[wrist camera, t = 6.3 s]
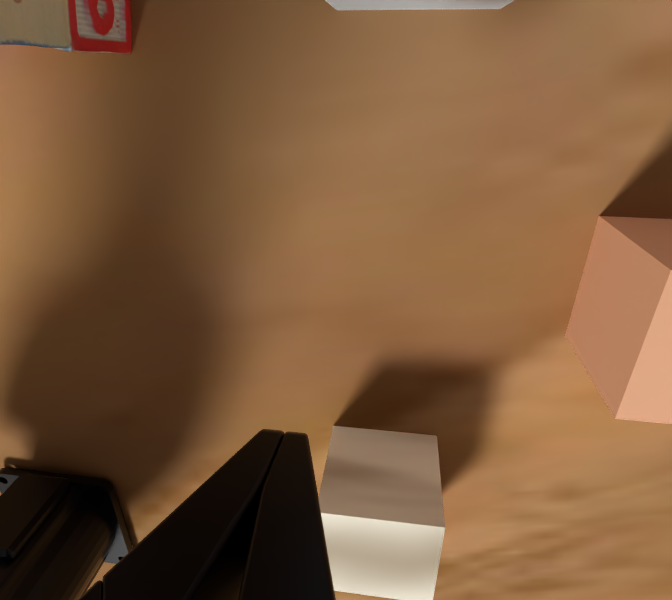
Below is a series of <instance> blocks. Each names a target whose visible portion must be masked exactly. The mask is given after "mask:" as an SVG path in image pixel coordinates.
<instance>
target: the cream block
mask: <svg viewBox="0 0 672 600" xmlns="http://www.w3.org/2000/svg"><path fill="white" fill-rule="evenodd" d="M319 504H320V510H321V516H322V522H323V528H324V534H325V540H326V546H327V551H328V557H329V563H330V569H331V575H332V581H333V587H334V591H342V592H349V593H356V594H363V595H370V596H377V597H385V598H392V599H399V600H433V596H434V590H435V584H436V578H437V572H438V566H439V561H440V555H441V549H442V543H443V537H444V531H445V521H444V510H443V499H442V488H441V476H440V465H439V454H438V443H437V436H436V435H426V434H415V433H405V432H394V431H384V430H373V429H363V428H352V427H342V426H333V429H332V434H331V439H330V444H329V449H328V454H327V459H326V464H325V469H324V474H323V479H322V484H321V489H320V494H319Z"/></svg>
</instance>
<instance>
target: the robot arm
mask: <svg viewBox="0 0 672 600" xmlns="http://www.w3.org/2000/svg"><path fill="white" fill-rule="evenodd" d="M0 491H1V493H2V495H1V496H0V600H336V598H335V593H334V587H333V581H332V575H331V569H330V563H329V557H328V551H327V546H326V540H325V534H324V528H323V522H322V516H321V510H320V504H319V499H318V493H317V487H316V481H315V475H314V469H313V463H312V457H311V452H310V446H309V440H308V436H307V434H305V433H298V432H286V433H285V434H284V432H283V431H279V430H270V429H263V430H261V431H260V432H258V433H257V434H256V435H255V436H254V437H253V438H252V439H251V440H250V441H249V442H248V443H246V444H245V445H244V446H243V447H242V448H241V449H240V450H239V451H238V452H237V453H236V454H235V455H234V456H232V457H231V458H230V459H229V460H228V461H227V462H226V463H225V464H224V465H223V466H222V467H221V468H219V469H218V470H217V471H216V472H215V473H214V474H213V475H212V476H211V477H210V478H209V479H208V480H207V481H205V482H204V483H203V484H202V485H201V486H200V487H199V488H198V489H197V490H196V491H195V492H194V493H193V494H191V495H190V496H189V497H188V498H187V499H186V500H185V501H184V502H183V503H182V504H181V505H180V506H178V507H177V508H176V509H175V510H174V511H173V512H172V513H171V514H170V515H169V516H168V517H167V518H166V519H164V520H163V521H162V522H161V523H160V524H159V525H158V526H157V527H156V528H155V529H154V530H153V531H151V532H150V533H149V534H148V535H147V536H146V537H145V538H144V539H143V540H142V541H141V542H140V543H139V544H137V545H136V546H135V547H134V548H132V544H131V541H130V538H129V535H128V532H127V528H126V525H125V522H124V519H123V515H122V512H121V509H120V506H119V503H118V499H117V496H116V493H115V490H114V487H113V485H112V484H111V483H110V482H108V481H107V480H103V479H95V478H87V477H79V476H70V475H62V474H54V473H46V472H37V471H29V470H21V469H13V468H2V469H0ZM104 562H108V563H115V564H116V565H115V566H114V567H113V568H112V569H110V570H109V571H108V572H107V573H106V574H105V575H104V576H103V582H102V581H100V580H99V581H97V582H96V583H95V584H94V585H93V586H92V587H91V588H90V589H89V590H87V589H88V587H89V586H90V584H91V582H92V581H93V579H94V578H95V576H96V574H97V573H98V571H99V569H100V568H101V566H102V564H103V563H104Z"/></svg>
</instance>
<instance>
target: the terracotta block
mask: <svg viewBox="0 0 672 600" xmlns="http://www.w3.org/2000/svg"><path fill="white" fill-rule="evenodd" d="M565 337H566V338H567V340H568V341H569V343H570V345H571V346H572V348H573V350H574V351H575V353H576V355H577V356H578V358H579V360H580V361H581V363H582V365H583V366H584V368H585V370H586V371H587V373H588V375H589V376H590V378H591V380H592V381H593V383H594V385H595V386H596V388H597V390H598V391H599V393H600V395H601V396H602V398H603V400H604V401H605V403H606V405H607V406H608V408H609V410H610V411H611V413H612V415H613V416H614V418H615V419H623V420H634V421H645V422H656V423H667V424H672V219H658V218H635V217H612V216H599V218H598V221H597V225H596V228H595V232H594V235H593V239H592V242H591V246H590V250H589V253H588V257H587V260H586V264H585V267H584V271H583V274H582V278H581V282H580V285H579V289H578V292H577V296H576V299H575V303H574V306H573V310H572V314H571V317H570V321H569V324H568V328H567V331H566V335H565Z"/></svg>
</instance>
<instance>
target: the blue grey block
mask: <svg viewBox="0 0 672 600" xmlns="http://www.w3.org/2000/svg"><path fill="white" fill-rule="evenodd" d="M325 1H326V2H327V3H329V4H330V5H331V6H332V7H333V8H335V9H336V10H429V9H501V8H503V7H504V6H506V5H508V4H509V3H511V2H513V1H514V0H325Z"/></svg>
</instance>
